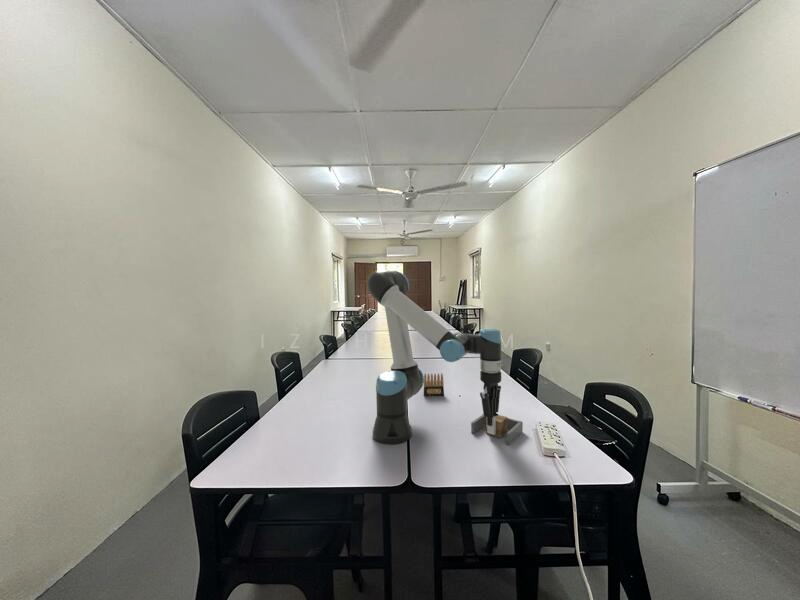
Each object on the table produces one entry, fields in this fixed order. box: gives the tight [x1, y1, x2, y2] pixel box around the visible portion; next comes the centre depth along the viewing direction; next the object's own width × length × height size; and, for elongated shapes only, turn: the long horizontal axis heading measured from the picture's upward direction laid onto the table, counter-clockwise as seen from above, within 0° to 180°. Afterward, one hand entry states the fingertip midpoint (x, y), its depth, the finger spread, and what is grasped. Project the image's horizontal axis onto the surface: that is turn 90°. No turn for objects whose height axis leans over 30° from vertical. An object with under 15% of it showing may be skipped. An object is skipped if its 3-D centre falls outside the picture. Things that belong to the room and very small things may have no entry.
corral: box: [470, 413, 524, 446], centre depth 118 cm, size 13×15×4 cm
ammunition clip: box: [423, 372, 445, 397], centre depth 160 cm, size 11×2×12 cm, turn 90°
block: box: [485, 414, 509, 439], centre depth 118 cm, size 6×6×6 cm
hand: (491, 433), depth 114 cm, fingers closed
